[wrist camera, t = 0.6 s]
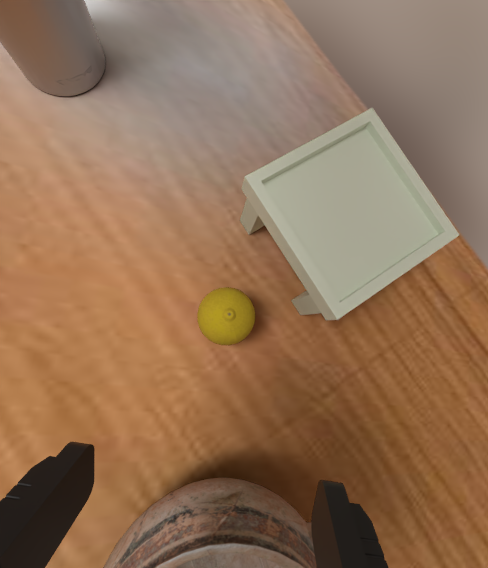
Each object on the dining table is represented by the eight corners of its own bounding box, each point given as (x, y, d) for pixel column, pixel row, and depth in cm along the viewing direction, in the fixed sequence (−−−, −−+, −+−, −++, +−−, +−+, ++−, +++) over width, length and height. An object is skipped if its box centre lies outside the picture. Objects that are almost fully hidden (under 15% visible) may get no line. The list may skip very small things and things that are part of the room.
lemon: (255, 302, 33) (270, 294, 25) (238, 349, 32) (249, 357, 24) (209, 285, 32) (209, 272, 24) (191, 332, 31) (185, 335, 23)
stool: (233, 218, 34) (244, 176, 24) (328, 165, 36) (372, 107, 27) (299, 321, 33) (337, 319, 23) (391, 259, 35) (459, 235, 26)
